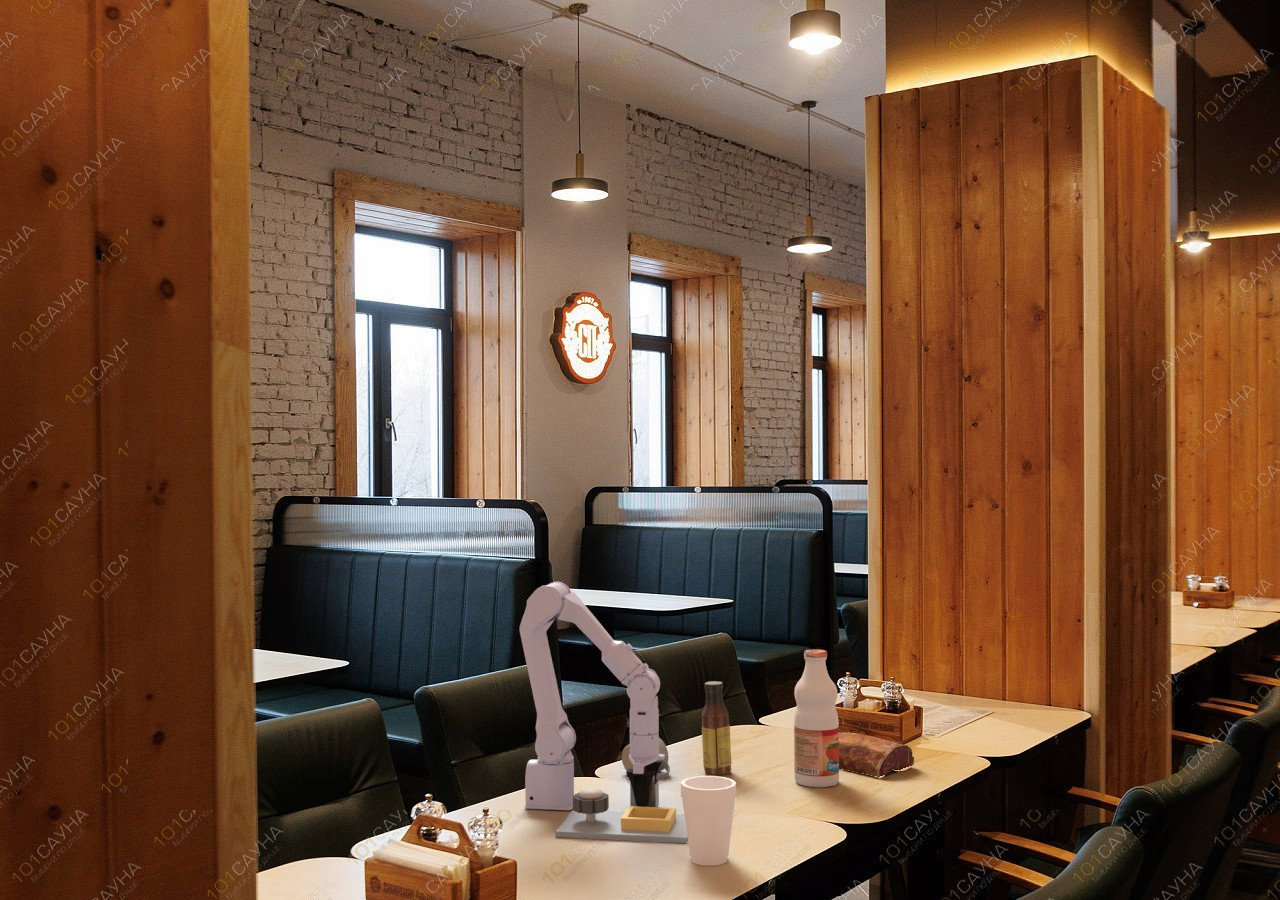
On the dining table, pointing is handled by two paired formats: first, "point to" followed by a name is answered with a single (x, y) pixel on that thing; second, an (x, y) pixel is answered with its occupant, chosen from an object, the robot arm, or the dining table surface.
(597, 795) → the dark grey knob
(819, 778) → the fruit juice
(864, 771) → the cured meat
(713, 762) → the sauce bottle
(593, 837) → the plate
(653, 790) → the grey square peg
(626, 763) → the ceramic mug
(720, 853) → the foam cup
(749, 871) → the dining table surface
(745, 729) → the dining table surface
